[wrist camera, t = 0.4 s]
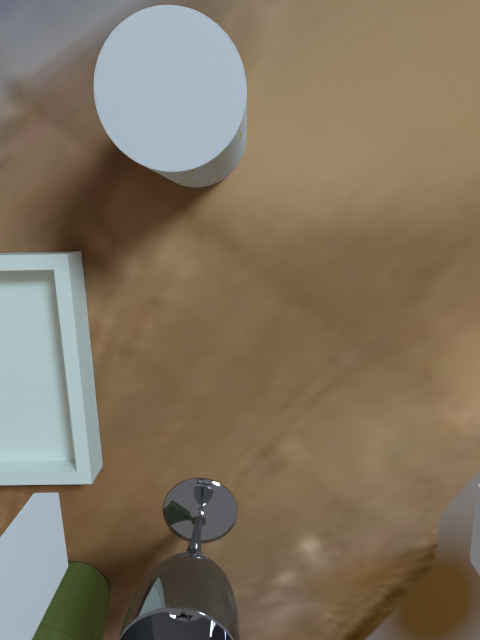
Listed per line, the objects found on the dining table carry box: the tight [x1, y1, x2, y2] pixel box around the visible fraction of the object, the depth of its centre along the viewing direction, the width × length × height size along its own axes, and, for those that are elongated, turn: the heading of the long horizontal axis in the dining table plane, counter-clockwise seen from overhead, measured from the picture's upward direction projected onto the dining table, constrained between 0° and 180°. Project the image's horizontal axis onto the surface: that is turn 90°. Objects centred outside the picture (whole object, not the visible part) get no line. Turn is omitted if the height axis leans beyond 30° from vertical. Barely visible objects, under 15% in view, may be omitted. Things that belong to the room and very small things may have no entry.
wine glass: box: [118, 478, 240, 640], centre depth 35 cm, size 8×8×15 cm
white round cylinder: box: [94, 5, 247, 187], centre depth 29 cm, size 8×8×12 cm
